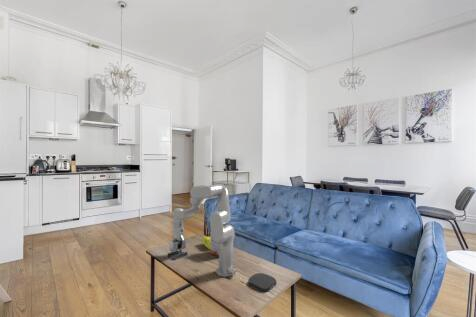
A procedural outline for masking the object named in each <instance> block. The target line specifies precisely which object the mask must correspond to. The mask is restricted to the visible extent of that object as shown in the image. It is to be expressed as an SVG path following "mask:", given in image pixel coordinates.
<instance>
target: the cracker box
mask: <svg viewBox="0 0 476 317" xmlns="http://www.w3.org/2000/svg"><path fill="white" fill-rule="evenodd" d="M209 230H210V231H209V232H210V233H209V234H210V235H209V237H210V250H209V253H210V254H211V255H215V256H218V257H219V244H216V243H215V242H214V241H213V239H212V236H211V227H210V229H209Z"/></svg>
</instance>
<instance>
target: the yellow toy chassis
mask: <svg viewBox="0 0 476 317" xmlns="http://www.w3.org/2000/svg"><path fill="white" fill-rule="evenodd" d="M202 245H204V247H205V248H207V249H208V250H209V251H210V236H205V235H203V236H202Z"/></svg>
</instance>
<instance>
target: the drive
mask: <svg viewBox="0 0 476 317" xmlns="http://www.w3.org/2000/svg"><path fill="white" fill-rule="evenodd" d="M180 239H181V238H180ZM180 241H181V240H180ZM186 243H187V239H186V238H184V241H183V242H182V248H180V249H178V244H179V242H178V240H177V239H176V240H174V239H173V240H169V251H170V252H175V251H178V250H181V249H182V250H183V249H186V246H187V245H186Z"/></svg>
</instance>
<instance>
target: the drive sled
mask: <svg viewBox="0 0 476 317" xmlns="http://www.w3.org/2000/svg"><path fill="white" fill-rule="evenodd" d="M182 250H183V249H181V250H178V251H175V252H172V251H170V252H168V253H167V257H168V258H170V259H171V260H173V261H176V260H179V259H180V258H183V257H186V256H188V251H185V252H184V251H182Z"/></svg>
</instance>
